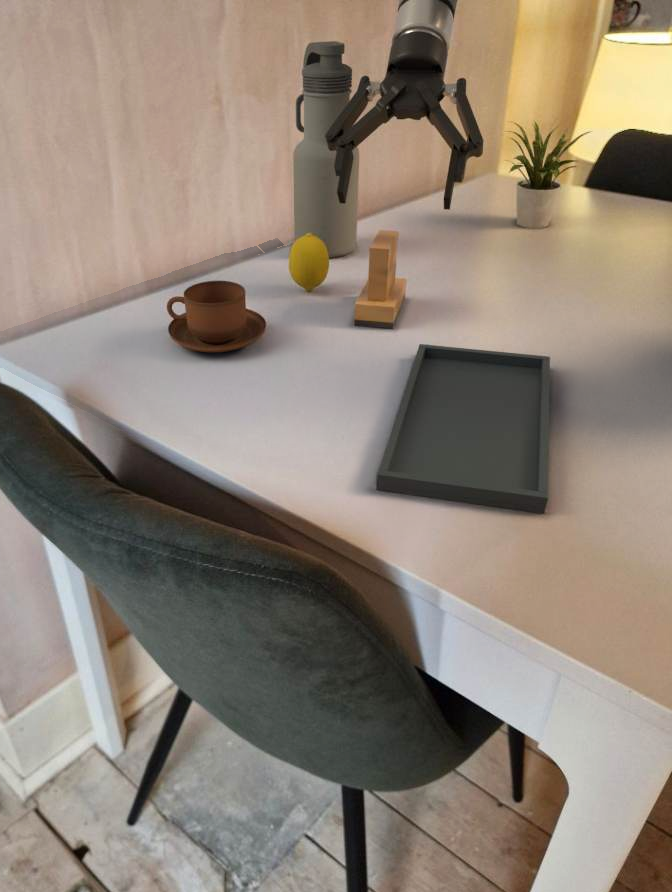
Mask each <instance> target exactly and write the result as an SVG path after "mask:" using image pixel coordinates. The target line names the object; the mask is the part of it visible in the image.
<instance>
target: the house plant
mask: <svg viewBox="0 0 672 892" xmlns="http://www.w3.org/2000/svg"><path fill="white" fill-rule="evenodd" d="M557 120H558V118H556V119H555V120H554V121H553V123H552V125H551V126H550V129H549V132H548V134H547V135H546V137H545V139H544V140H543V138H542V135H541V132H540V129H539V125H538V123H537V122H536V121H535V120H533V123H531V124H532V128H533V129H534V130H533V131H534V133H535V134H534V140H533V141H532V142H531V143H532V148H531V144H530V142H529V139H528V136H527V133H526V131H525V130H524V128H523V127H522V126H521V125H520V124H518V123H516V122H513V121H510V120H508V122H509V123H512V124H514V125H516V126H517V127H518V128H519V130H520V131H521V133H522V135H521V134H519V133H517V132H515V131H510V130H506V132H508V133H513V134H514V135H516V136H517V137H518V138H520V140H521V142H522V143H523V145H524V146H525V148H526V150H527V153H528V155H529V158H530V160H531V162H530V160H529V159H528V158H527V157H526V155H525V154H526V153H525V151H524V150H523V148H522V146H521V145H520V143H519V142H518V141H517V140H516V139H514V138H513V137H509V139H511V140H513V141H514V142H515V143H516V145H517V146H518V147H519V150H520V151H521V153H522V154H520V155H519V154H518V155H516V156H515V157H514V160H518V161H519V162H520V164H519V162H517V163H514V162H512V161H511V160H508V159H505V161H506V162H510V163H512V164H513V165H512V166H511V167H510V170H509V172H508V174H510V173H511V172H513V171H515V170H518V171H519V172H520V173H521V175H522V176H523V177H524V179H522V180H520V181H519V180H518V182H517V183H516V224H517V225H518V226H520V227H522V228H529V229H541V228H545V227H548V226H549V223H550V220H551V218H552V214H553V212H554V209H555V206H556V203H557V200H558V197H559V194H560V191H561V189H562V185H561V183H559V182H558V181H556V180H557V178H558V177H559V176H560V175H561V174H562V173H563V172H565V171H567V170H569V169H572V168H573V169H574V168H578V166H577V165H571V166H568V167H566V168H564V169H563V170H560V168H561V167H562V166H564V165H566V164H569V163H570V164H571V163H573V162H574V163H576V162H579V160H575V159H565V160H561V159H560V158H561V157H562V156H563V154H564V153H565V152H566V151H567V150H569V148H570V147H571V146H573V145H574V144H575V143H576V142H577V141H579V139H581V138H582V137H583V136H585V135H587V134H590V133H592V132H593V130H591V131H587V132H583V133H582V134H579V135H578V136H577V137H575V138H574V139H573V140H572V141H571V142H569V143H568V141H570V140H571V138H568V139H565V137H566V134H567V132H568V128H566V130H565V131H564V132H563V134H562V135H561V137H560V138H559V139H558V142H557V144H556V145H555V147H554V148H553V149H552V151H551V152H550V153H547V155H546V152H547V147H548V144H549V142H550V139H551V136H552V134H553V132H554V131H556V129H557V128H558V126H557V127H555V128H554V129H552V128H553V126H554V124H555V122H556V121H557ZM567 143H568V144H567ZM566 144H567V145H566ZM565 145H566V146H565ZM532 149H533V151H532ZM545 155H546V157H545ZM531 163H532V164H531ZM522 167H524V168H525V171H526V174H527V176H528V178H527V176H526V174H524V172H523V171H522V169H521V168H522ZM553 177H554V178H553Z"/></svg>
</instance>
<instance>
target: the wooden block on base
mask: <svg viewBox="0 0 672 892" xmlns="http://www.w3.org/2000/svg"><path fill="white" fill-rule="evenodd" d="M398 242H399V231H398V230H384V229H383V230H382V229H380V230H379V231H378V233H377V234H376V236H375V238H374V240H373V241H372V243H371V244H370V246H369V252H368V255H369V256H368V277H367V280H366V282H365V284H364V286H363V288H362V289H361V292H360V293H359V295H358V297H357V299H356V301H355V302H354V315H353V316H354V318H353V319H354V320H353V325H354V326H358V327H368V328H379V329H387V330H389V329H390V330H393V329H394V327H395V325H396V322H397V320H398V317H399V316H400V314H401V313H400V312H401V310H402V309H403V305H404V302H405V301H406V291H407V278H404V277H403V278H401V277H396V275H397V274H396V272H397V257H398Z"/></svg>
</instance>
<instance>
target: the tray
mask: <svg viewBox="0 0 672 892" xmlns="http://www.w3.org/2000/svg"><path fill="white" fill-rule="evenodd" d="M412 363H413V364H412V366H411V369H410V371H409V375H408V378H407V381H406V384H405V388H404V390H403V394H402V397H401V399H400V402H399V405H398V409H397V412H396V415H395V418H394V421H393V425H392V427H391V430H390V433H389V436H388V439H387V442H386V446H385V448H384V451H383V454H382V458H381V461H380V464H379V467H378V471H377V473H376V483H375V489H376V491H383V492H390V493H397V494H403V495H410V496H419V497H425V498H431V499H439V500H445V501H446V500H447V501H453V502H460V503H467V504H468V503H469V504H473V505H474V504H475V505H481V506H488V507H493V508H501V509H502V508H503V509H509V510H510V509H511V510H516V511H523V512H531V513H535V514H536V513H538V514H545V513H546V508H547V504H548V500H549V499H548V498H549V453H550V451H549V447H550V446H549V445H550V443H549V442H550V387H551V386H550V383H551V381H550V380H551V356H547V355H536V354H529V353H517V352H507V351H498V350H497V351H494V350H485V349H477V348H476V349H474V348H466V347H455V346H445V345H444V346H443V345H433V344H424V343H423V344H422V343H419V345H418V348H417V350H416V354H415V357H414V360H413V362H412Z"/></svg>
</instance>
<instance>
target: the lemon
mask: <svg viewBox="0 0 672 892" xmlns="http://www.w3.org/2000/svg"><path fill="white" fill-rule="evenodd" d="M288 270H289V275H290V277H291V279H292V280H293V282H294V283H295V284H296V285H297V286H299V287H301V288H303V289H304V290H305V291H306V292H312V291H313V290H314V288H317V287H319V286H320V285H321V284H322V283H324V282H325V280H326V278H327V276H328V273H329V270H330V258H329V256H328V251H327V248H326V246H325V244H324V243H323V241H322V240H320V239H319V238H318V237H316V236H313V235H312V234H311V233H307V234H306V235H305V236H302V237H300V238H299V239H298V240H296V241H295V240H294V243H293V244H292V246H291V248H290V252H289V257H288Z"/></svg>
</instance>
